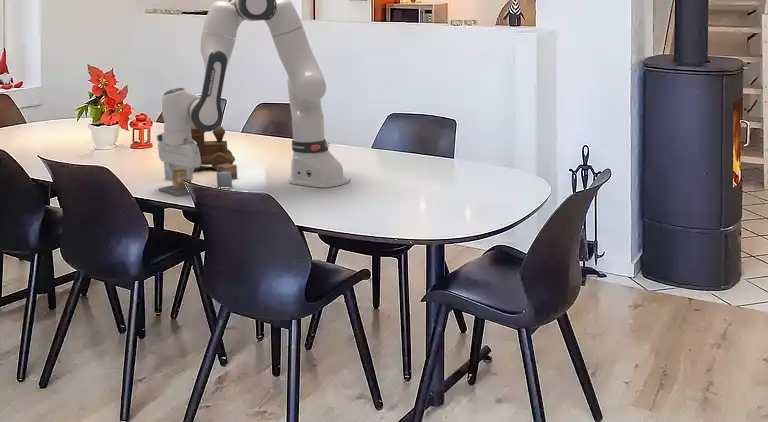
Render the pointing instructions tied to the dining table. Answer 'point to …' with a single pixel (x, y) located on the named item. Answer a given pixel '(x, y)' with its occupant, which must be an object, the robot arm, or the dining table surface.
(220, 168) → the walnut cube
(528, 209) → the dining table surface
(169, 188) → the charcoal mat
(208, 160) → the wooden toy train
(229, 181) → the blue-grey cube
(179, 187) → the oak block
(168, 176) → the medicine box
